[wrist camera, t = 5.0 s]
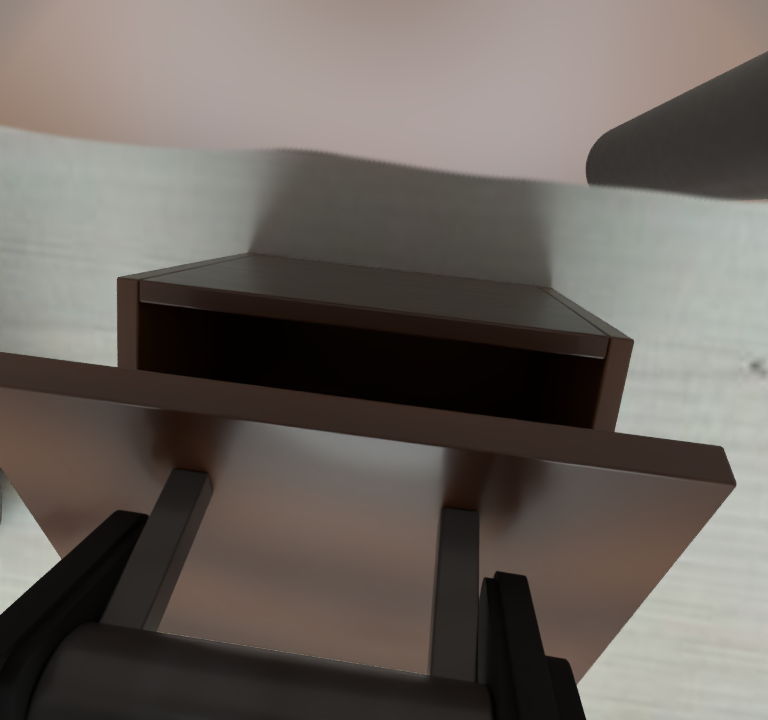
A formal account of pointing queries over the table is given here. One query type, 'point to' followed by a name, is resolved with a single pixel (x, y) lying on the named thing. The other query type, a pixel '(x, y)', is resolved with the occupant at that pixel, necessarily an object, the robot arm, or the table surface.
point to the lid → (329, 541)
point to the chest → (376, 337)
